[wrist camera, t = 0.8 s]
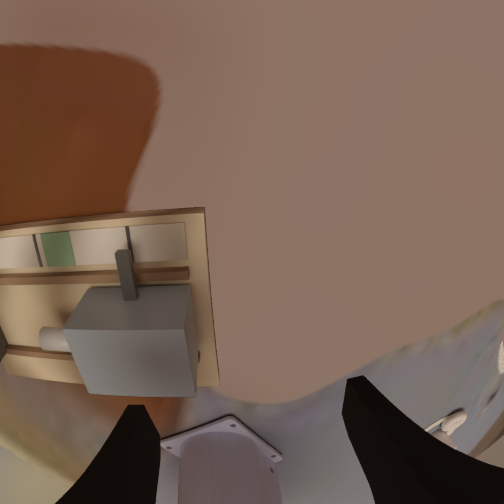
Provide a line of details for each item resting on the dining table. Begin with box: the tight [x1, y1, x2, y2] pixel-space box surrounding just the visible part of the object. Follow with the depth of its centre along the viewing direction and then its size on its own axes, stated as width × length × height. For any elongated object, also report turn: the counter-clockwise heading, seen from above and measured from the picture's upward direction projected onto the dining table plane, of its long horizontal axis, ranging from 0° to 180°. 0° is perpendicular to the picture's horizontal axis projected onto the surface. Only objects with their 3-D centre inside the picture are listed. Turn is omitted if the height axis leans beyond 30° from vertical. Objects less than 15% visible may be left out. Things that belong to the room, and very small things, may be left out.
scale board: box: [0, 207, 220, 387], centre depth 16 cm, size 18×12×6 cm, turn 91°
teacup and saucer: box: [425, 341, 504, 449], centre depth 29 cm, size 9×8×4 cm
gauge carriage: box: [39, 249, 198, 397], centre depth 15 cm, size 9×7×4 cm
